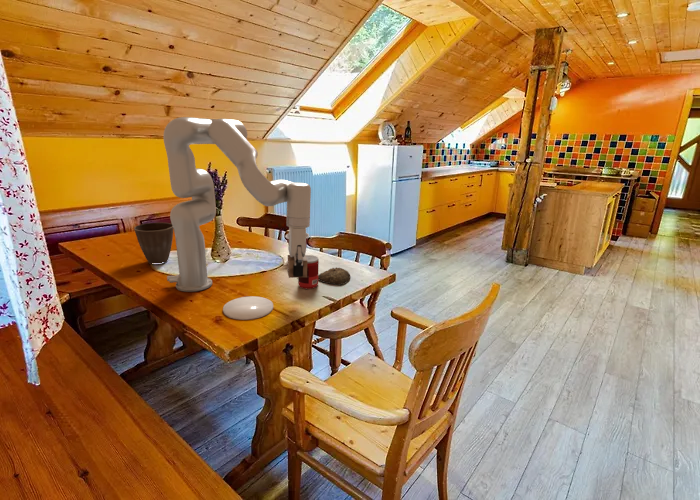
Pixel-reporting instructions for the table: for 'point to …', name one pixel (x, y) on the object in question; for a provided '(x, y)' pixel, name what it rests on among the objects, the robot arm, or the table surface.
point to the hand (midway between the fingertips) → (297, 272)
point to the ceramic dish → (248, 308)
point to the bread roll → (335, 276)
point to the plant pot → (155, 241)
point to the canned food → (310, 273)
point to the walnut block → (291, 263)
